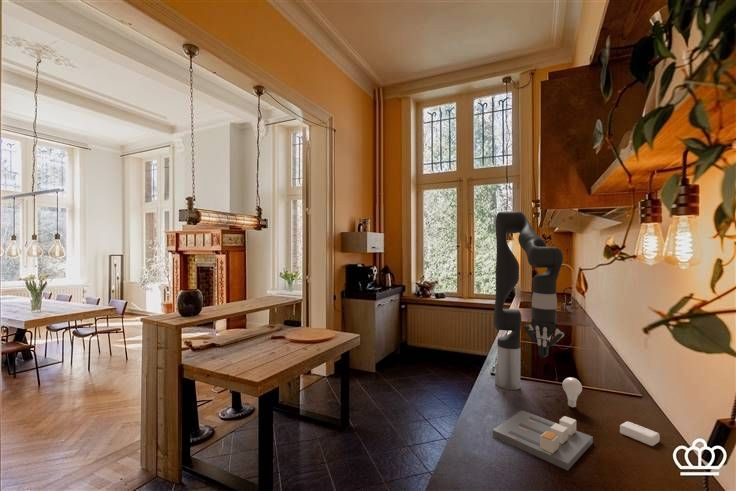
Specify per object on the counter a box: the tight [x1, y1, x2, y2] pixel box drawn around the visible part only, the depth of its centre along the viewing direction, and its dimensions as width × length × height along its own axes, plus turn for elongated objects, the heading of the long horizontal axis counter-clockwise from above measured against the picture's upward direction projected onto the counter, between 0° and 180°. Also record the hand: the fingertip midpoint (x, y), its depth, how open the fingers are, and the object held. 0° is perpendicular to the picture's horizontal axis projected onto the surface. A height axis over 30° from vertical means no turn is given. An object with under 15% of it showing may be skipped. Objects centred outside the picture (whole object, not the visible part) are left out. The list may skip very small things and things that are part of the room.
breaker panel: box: [492, 410, 594, 471], centre depth 108 cm, size 22×20×6 cm
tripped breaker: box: [540, 431, 559, 453], centre depth 100 cm, size 4×4×4 cm
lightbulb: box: [562, 376, 583, 408], centre depth 130 cm, size 6×6×11 cm
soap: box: [619, 421, 660, 447], centre depth 110 cm, size 9×6×3 cm, turn 31°
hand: (543, 356), depth 117 cm, fingers closed
